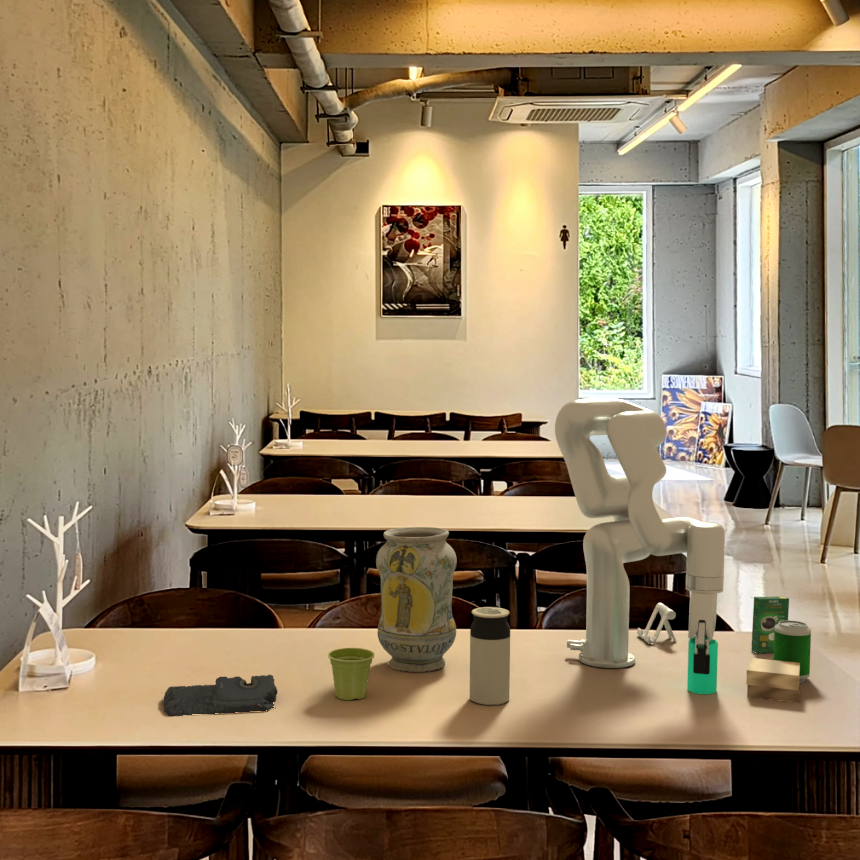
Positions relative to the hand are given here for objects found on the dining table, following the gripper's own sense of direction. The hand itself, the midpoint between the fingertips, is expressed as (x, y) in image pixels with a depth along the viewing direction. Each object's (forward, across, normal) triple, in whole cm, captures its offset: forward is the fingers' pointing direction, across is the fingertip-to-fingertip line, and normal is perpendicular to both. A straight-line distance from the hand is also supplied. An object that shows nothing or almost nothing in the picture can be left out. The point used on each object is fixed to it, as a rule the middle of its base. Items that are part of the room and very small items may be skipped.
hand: (702, 668), depth 226 cm
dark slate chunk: (+5, +40, -90) cm, 99 cm away
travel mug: (+5, +21, -40) cm, 45 cm away
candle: (+5, 0, 0) cm, 5 cm away
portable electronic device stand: (+5, -38, -13) cm, 40 cm away
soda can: (+5, -15, +18) cm, 24 cm away
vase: (+5, +2, -62) cm, 62 cm away
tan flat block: (+5, -3, +14) cm, 15 cm away
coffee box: (+5, -36, +13) cm, 39 cm away
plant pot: (+5, +28, -67) cm, 73 cm away
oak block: (+2, -3, +14) cm, 15 cm away
